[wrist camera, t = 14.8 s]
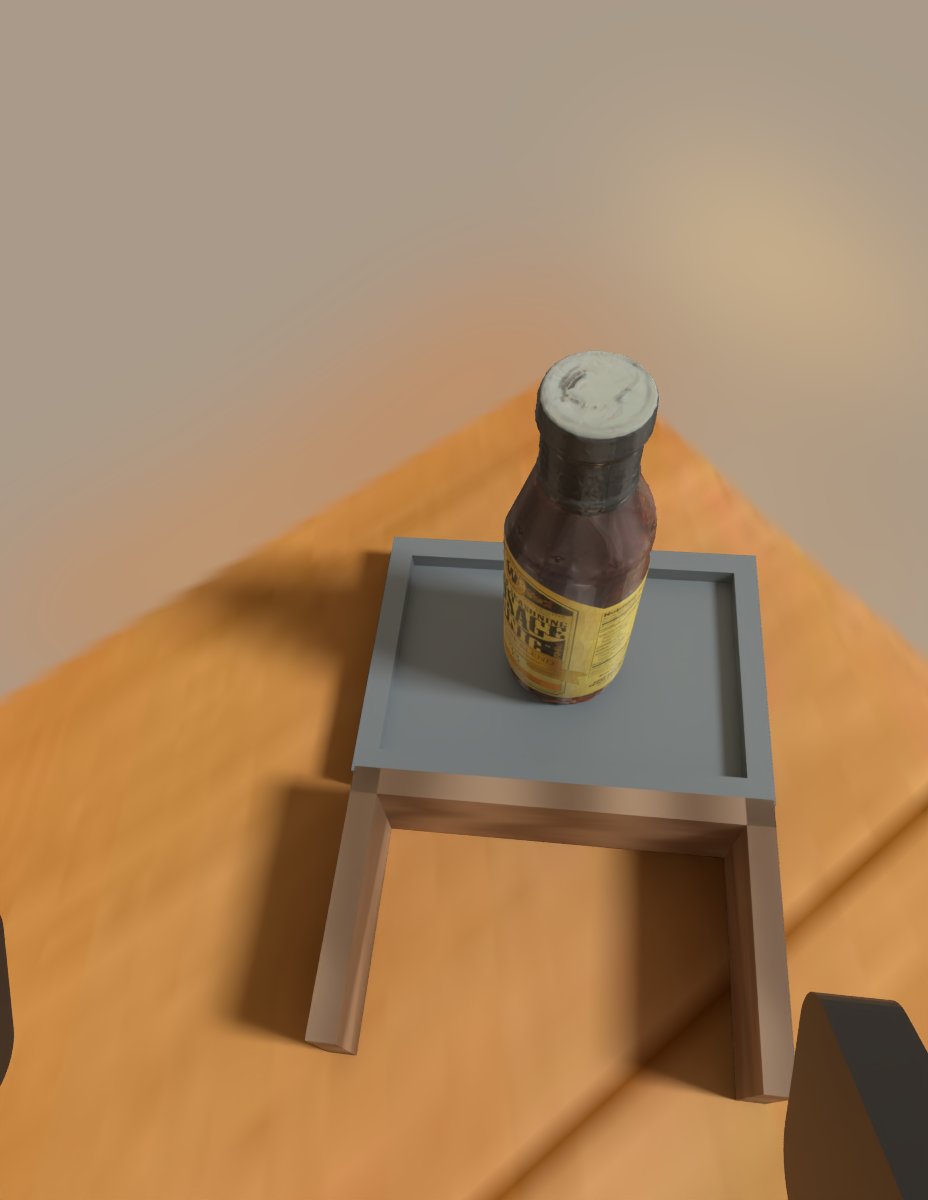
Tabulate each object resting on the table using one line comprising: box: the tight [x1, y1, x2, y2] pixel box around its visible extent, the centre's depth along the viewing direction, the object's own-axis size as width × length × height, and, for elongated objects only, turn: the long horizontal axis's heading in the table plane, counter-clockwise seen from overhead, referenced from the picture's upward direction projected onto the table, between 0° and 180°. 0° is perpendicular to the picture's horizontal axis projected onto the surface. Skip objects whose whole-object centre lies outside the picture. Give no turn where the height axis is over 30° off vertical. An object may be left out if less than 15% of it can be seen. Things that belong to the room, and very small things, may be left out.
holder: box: [305, 766, 795, 1104], centre depth 38 cm, size 18×11×5 cm, turn 84°
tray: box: [351, 537, 776, 807], centre depth 46 cm, size 20×14×2 cm
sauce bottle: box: [503, 351, 659, 704], centre depth 37 cm, size 7×6×20 cm
